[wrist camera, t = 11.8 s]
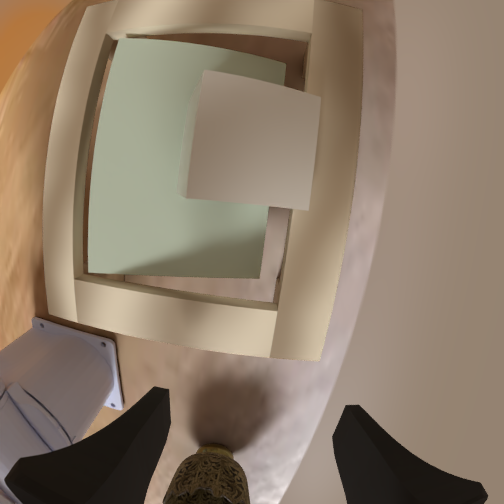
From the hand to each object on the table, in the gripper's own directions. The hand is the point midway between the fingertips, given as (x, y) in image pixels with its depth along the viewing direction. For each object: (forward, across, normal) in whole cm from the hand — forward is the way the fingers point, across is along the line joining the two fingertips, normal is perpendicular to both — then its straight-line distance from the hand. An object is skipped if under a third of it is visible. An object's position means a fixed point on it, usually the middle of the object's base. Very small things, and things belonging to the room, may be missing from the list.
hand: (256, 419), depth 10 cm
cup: (+11, +2, +16) cm, 19 cm away
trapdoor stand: (+10, +4, -10) cm, 15 cm away
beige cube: (+6, +3, -10) cm, 12 cm away
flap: (+8, +6, -10) cm, 14 cm away
